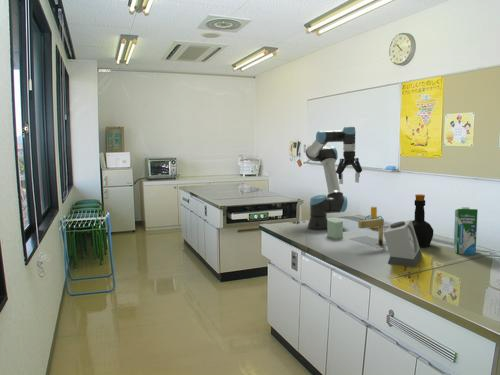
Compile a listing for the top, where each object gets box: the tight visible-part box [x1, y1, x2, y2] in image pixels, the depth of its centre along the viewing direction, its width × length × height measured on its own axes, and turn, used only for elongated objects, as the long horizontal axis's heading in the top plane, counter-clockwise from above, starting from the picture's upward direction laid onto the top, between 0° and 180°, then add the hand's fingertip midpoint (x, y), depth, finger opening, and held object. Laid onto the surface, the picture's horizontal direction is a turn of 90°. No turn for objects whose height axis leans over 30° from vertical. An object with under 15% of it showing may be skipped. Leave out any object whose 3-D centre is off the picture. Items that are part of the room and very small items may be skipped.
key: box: [357, 217, 385, 244], centre depth 222 cm, size 16×2×15 cm, turn 110°
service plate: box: [349, 235, 387, 249], centre depth 232 cm, size 24×14×1 cm, turn 27°
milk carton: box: [453, 206, 479, 256], centre depth 206 cm, size 9×9×25 cm
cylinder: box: [364, 206, 384, 230], centre depth 268 cm, size 12×10×15 cm
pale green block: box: [326, 219, 344, 240], centre depth 245 cm, size 8×6×11 cm
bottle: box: [412, 194, 434, 248], centre depth 222 cm, size 16×16×30 cm
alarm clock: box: [383, 219, 423, 268], centre depth 197 cm, size 20×16×20 cm
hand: (349, 183), depth 247 cm, fingers open, 13 cm apart
